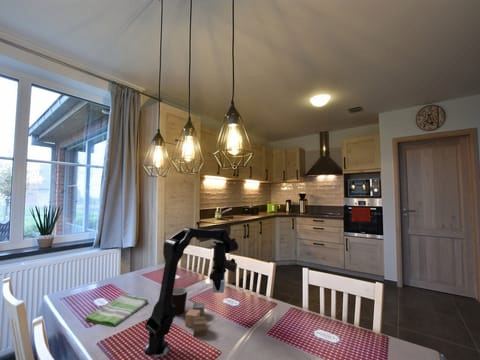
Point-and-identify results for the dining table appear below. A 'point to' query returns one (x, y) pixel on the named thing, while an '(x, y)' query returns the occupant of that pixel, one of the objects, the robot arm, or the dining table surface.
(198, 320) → the walnut block
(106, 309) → the dish towel
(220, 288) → the grey cube
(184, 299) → the coffee mug
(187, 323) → the terracotta block
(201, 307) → the grey block
